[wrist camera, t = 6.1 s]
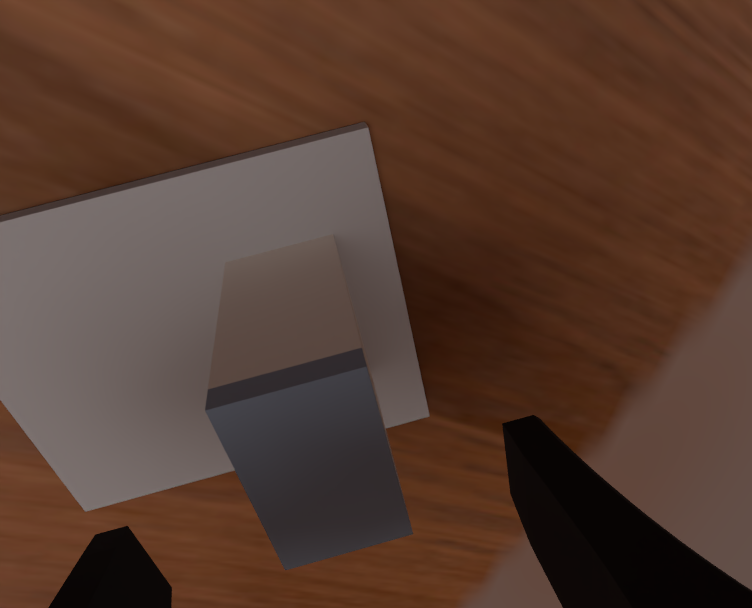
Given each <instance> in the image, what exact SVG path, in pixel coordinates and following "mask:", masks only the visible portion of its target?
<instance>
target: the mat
mask: <svg viewBox="0 0 752 608" xmlns="http://www.w3.org/2000/svg"><path fill="white" fill-rule="evenodd" d="M331 234H333V235H334V239H335V243H336V246H337V250H338V254H339V257H340V261H341V265H342V268H343V272H344V276H345V279H346V283H347V287H348V290H349V294H350V297H351V301H352V305H353V308H354V312H355V316H356V319H357V323H358V327H359V330H360V334H361V338H362V341H363V345H364V349H365V352H366V356H367V360H368V363H369V367H370V371H371V374H372V378H373V382H374V386H375V390H376V393H377V397H378V401H379V405H380V409H381V413H382V417H383V420H384V424H385V428H389V427H393V426H397V425H400V424H404V423H407V422H411V421H415V420H418V419H422V418H426V417H429V411H428V406H427V402H426V397H425V392H424V387H423V383H422V378H421V373H420V369H419V364H418V359H417V354H416V350H415V345H414V340H413V336H412V331H411V326H410V322H409V317H408V312H407V307H406V303H405V298H404V293H403V289H402V284H401V279H400V274H399V270H398V265H397V260H396V256H395V251H394V246H393V241H392V237H391V232H390V227H389V223H388V218H387V213H386V209H385V204H384V199H383V194H382V190H381V185H380V180H379V176H378V171H377V166H376V161H375V157H374V152H373V147H372V143H371V138H370V133H369V129H368V126H367V125H366V123H365V122H362V123H358V124H354V125H350V126H346V127H343V128H339V129H335V130H331V131H327V132H323V133H319V134H315V135H311V136H308V137H304V138H300V139H296V140H292V141H288V142H284V143H280V144H276V145H273V146H269V147H265V148H261V149H257V150H253V151H249V152H245V153H242V154H238V155H234V156H230V157H226V158H222V159H218V160H214V161H210V162H207V163H203V164H199V165H195V166H191V167H187V168H183V169H179V170H176V171H172V172H168V173H164V174H160V175H156V176H152V177H148V178H144V179H141V180H137V181H133V182H129V183H125V184H121V185H117V186H113V187H110V188H106V189H102V190H98V191H94V192H90V193H86V194H82V195H78V196H75V197H71V198H67V199H63V200H59V201H55V202H51V203H47V204H43V205H40V206H36V207H32V208H28V209H24V210H20V211H16V212H12V213H9V214H5V215H1V216H0V400H1V401H2V403H3V404H4V405H5V407H6V408H7V409H8V411H9V412H10V413H11V415H12V416H13V417H14V418H15V420H16V421H17V422H18V424H19V425H20V426H21V428H22V429H23V430H24V432H25V433H26V434H27V436H28V437H29V438H30V440H31V441H32V442H33V443H34V445H35V446H36V447H37V449H38V450H39V451H40V453H41V454H42V455H43V457H44V458H45V459H46V461H47V462H48V463H49V465H50V466H51V467H52V469H53V470H54V471H55V472H56V474H57V475H58V476H59V478H60V479H61V480H62V482H63V483H64V484H65V486H66V487H67V488H68V490H69V491H70V492H71V494H72V495H73V496H74V497H75V499H76V500H77V501H78V503H79V504H80V505H81V507H82V508H83V509H84V511H85V512H86V511H89V510H93V509H97V508H100V507H104V506H108V505H111V504H115V503H118V502H122V501H126V500H129V499H133V498H136V497H140V496H144V495H147V494H151V493H155V492H158V491H162V490H165V489H169V488H173V487H176V486H180V485H183V484H187V483H191V482H194V481H198V480H201V479H205V478H209V477H212V476H216V475H220V474H223V473H227V472H230V471H234V470H235V469H234V467H233V465H232V463H231V461H230V459H229V457H228V455H227V453H226V451H225V450H224V448H223V446H222V444H221V442H220V440H219V438H218V436H217V434H216V432H215V430H214V428H213V426H212V424H211V422H210V420H209V418H208V416H207V414H206V412H205V406H206V399H207V392H208V384H209V377H210V370H211V363H212V355H213V348H214V341H215V334H216V326H217V319H218V312H219V305H220V297H221V290H222V283H223V276H224V268H225V262H229V261H232V260H236V259H240V258H244V257H248V256H251V255H255V254H259V253H263V252H267V251H270V250H274V249H278V248H282V247H285V246H289V245H293V244H297V243H301V242H304V241H308V240H312V239H316V238H320V237H323V236H327V235H331Z"/></svg>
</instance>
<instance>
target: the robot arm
mask: <svg viewBox="0 0 752 608" xmlns="http://www.w3.org/2000/svg"><path fill="white" fill-rule="evenodd" d="M502 425H503V434H504V442H505V451H506V459H507V468H508V476H509V485H510V493H511V496H512V499H513V501H514V504H515V507H516V509H517V512H518V514H519V517H520V519H521V522H522V524H523V527H524V529H525V532H526V534H527V537H528V539H529V542H530V544H531V546H532V548H533V550H534V552H535V554H536V556H537V558H538V560H539V562H540V564H541V566H542V568H543V570H544V572H545V574H546V576H547V577H548V580H549V581H550V583H551V585H552V587H553V589H554V591H555V593H556V595H557V597H558V599H559V601H560V603H561V604H562V607H563V608H752V591H751V590H750V589H748V588H747V587H745V586H744V585H742V584H741V583H739V582H738V581H736V580H735V579H733V578H732V577H731V576H729V575H727V574H726V573H725V572H723V571H722V570H720V569H718V568H717V567H716V566H714V565H713V564H711V563H710V562H709V561H707V560H706V559H704V558H703V557H702V556H700V555H699V554H697V553H696V552H695V551H693V550H692V549H691V548H689V547H688V546H686V545H685V544H684V543H682V542H681V541H680V540H678V539H677V538H676V537H674V536H673V535H672V534H670V533H669V532H668V531H667V530H665V529H664V528H662V527H661V526H660V525H659V524H657V523H656V522H655V521H654V520H652V519H651V518H650V517H648V516H647V515H646V514H645V513H643V512H642V511H641V510H640V509H638V508H637V507H636V506H635V505H634V504H632V503H631V502H630V501H629V500H628V499H626V498H625V497H624V496H623V495H622V494H620V493H619V492H618V491H617V490H616V489H615V488H613V487H612V486H611V485H610V484H609V483H607V482H606V481H605V480H604V479H603V478H602V477H600V476H599V475H598V474H597V473H596V472H595V471H594V470H593V469H591V468H590V467H589V466H588V465H587V464H586V463H585V462H584V461H583V460H582V459H581V458H579V457H578V456H577V455H576V454H575V453H574V452H573V451H572V450H571V449H570V448H569V447H568V446H567V445H566V444H565V443H564V442H562V441H561V440H560V439H559V438H558V437H557V436H556V435H555V434H554V433H553V432H552V431H551V430H550V429H549V428H548V427H547V426H546V425H545V424H544V423H543V421H542V420H541V419H540V418H538V417H536V416H534V415H532V416H528V417H524V418H521V419H517V420H513V421H510V422H506V423H502ZM171 597H172V587H171V586H170V584H169V583H168V582H167V580H166V579H165V577H164V576H163V575H162V573H161V572H160V570H159V569H158V568H157V566H156V565H155V564H154V562H153V561H152V559H151V558H150V557H149V555H148V554H147V552H146V551H145V550H144V548H143V547H142V545H141V544H140V543H139V541H138V540H137V538H136V537H135V536H134V534H133V533H132V531H131V530H130V529H129V527H128V526H125V527H122V528H118V529H114V530H111V531H107V532H103V533H100V534H96V535H95V536H94V538H93V539H92V541H91V542H90V544H89V545H88V547H87V548H86V550H85V551H84V553H83V554H82V556H81V557H80V559H79V560H78V562H77V564H76V565H75V567H74V568H73V570H72V571H71V573H70V575H69V576H68V578H67V579H66V581H65V582H64V584H63V586H62V587H61V589H60V590H59V592H58V593H57V595H56V597H55V598H54V600H53V601H52V603H51V604H50V606H49V608H171Z"/></svg>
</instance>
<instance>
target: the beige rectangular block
mask: <svg viewBox="0 0 752 608" xmlns="http://www.w3.org/2000/svg"><path fill="white" fill-rule="evenodd" d="M205 412H206V414H207V416H208V418H209V420H210V422H211V424H212V426H213V428H214V430H215V432H216V434H217V436H218V438H219V440H220V442H221V444H222V446H223V448H224V450H225V451H226V453H227V455H228V457H229V459H230V461H231V463H232V465H233V467H234V469H235V471H236V473H237V475H238V477H239V479H240V481H241V483H242V485H243V487H244V489H245V491H246V493H247V495H248V497H249V499H250V501H251V503H252V505H253V507H254V509H255V511H256V513H257V515H258V517H259V519H260V521H261V523H262V525H263V527H264V529H265V531H266V533H267V535H268V537H269V539H270V541H271V543H272V545H273V547H274V549H275V551H276V553H277V555H278V557H279V559H280V561H281V563H282V565H283V567H284V569H285V570H288V569H292V568H295V567H299V566H302V565H306V564H309V563H313V562H316V561H320V560H323V559H327V558H330V557H334V556H337V555H341V554H344V553H348V552H351V551H355V550H359V549H362V548H366V547H369V546H373V545H376V544H380V543H383V542H387V541H390V540H394V539H397V538H401V537H404V536H408V535H411V534H413V532H412V528H411V524H410V521H409V517H408V513H407V509H406V505H405V501H404V497H403V494H402V490H401V486H400V482H399V478H398V474H397V471H396V467H395V463H394V459H393V455H392V451H391V447H390V444H389V440H388V436H387V432H386V428H385V424H384V420H383V417H382V413H381V409H380V405H379V401H378V397H377V393H376V390H375V386H374V382H373V378H372V374H371V371H370V367H369V363H368V360H367V356H366V352H365V349H364V345H363V341H362V338H361V334H360V330H359V327H358V323H357V319H356V316H355V312H354V308H353V305H352V301H351V297H350V294H349V290H348V287H347V283H346V279H345V276H344V272H343V268H342V265H341V261H340V257H339V254H338V250H337V246H336V243H335V239H334V235H333V234H331V235H327V236H323V237H320V238H316V239H312V240H308V241H304V242H301V243H297V244H293V245H289V246H285V247H282V248H278V249H274V250H270V251H267V252H263V253H259V254H255V255H251V256H248V257H244V258H240V259H236V260H232V261H229V262H225V268H224V276H223V283H222V290H221V297H220V305H219V312H218V319H217V326H216V334H215V341H214V348H213V355H212V363H211V370H210V377H209V384H208V392H207V399H206V406H205Z"/></svg>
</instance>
